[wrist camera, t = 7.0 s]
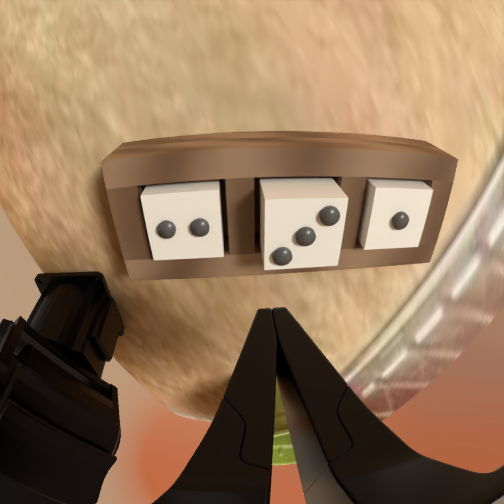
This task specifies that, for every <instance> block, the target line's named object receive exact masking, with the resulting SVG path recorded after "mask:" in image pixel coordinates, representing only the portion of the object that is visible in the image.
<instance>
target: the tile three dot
mask: <svg viewBox="0 0 504 504" xmlns="http://www.w3.org/2000/svg"><path fill="white" fill-rule="evenodd" d="M259 182H260V247H261V253H262V259H263V265H264V270H276V269H293V268H309V267H325V266H338V261H339V256H340V250H341V244H342V238H343V232H344V225H345V219H346V212H347V205H348V197H347V196H346V194H345V193H344V192H343V191H342V189H341V188H340V187H339V186H338V184H337V183H336V182H335V181H334V180H333V178H267V179H259Z"/></svg>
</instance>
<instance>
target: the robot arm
mask: <svg viewBox="0 0 504 504" xmlns="http://www.w3.org/2000/svg"><path fill="white" fill-rule="evenodd" d="M96 278H98V279H99V280H97V279H96ZM35 282H36V285H37V287H38V288H39V291H40V293H41V296H40V298H39V300H38V302H37V303H36V305H35V307H34V309H33V311H32V312H31V314H30V316H29V318H28V320H27V322H26V320H24V319H23V318H22V317H21V316H20V317H19V318H18V319H17V320H16V321H15V322H13V321H9V320H6V319H3V320H2V321H1V323H0V504H96V503H97V501H98V498H99V494H100V490H101V487H102V484H103V481H104V478H105V476H106V475H107V473H108V471H109V469H110V468H111V467H112V465H113V464H114V463H115V462H116V460H117V457H116V456H114V455H115V454H116V452H117V449H118V447H119V443H120V438H121V429H120V420H119V405H118V390H117V388H116V387H115V386H113V385H112V384H108V383H107V382H105V381H104V380H102V379H101V377H102V373H103V369H104V365H105V362H106V361H107V362H109V361H110V360H111V359H112V356H113V352H114V349H115V345H116V342H117V338H118V336H122V335H123V334H124V327H123V324H122V319H121V316H120V314H119V311H118V309H117V306H116V304H115V301H114V299H113V298H112V297H111V294H110V292H109V289H108V287H107V284H106V281H105V278H104V276H103V275H102V274H101V273H99V272H75V273H45V274H38V275H37V276H36V278H35ZM276 377H277V382H278V387H279V391H280V395H281V400H282V404H283V408H284V412H285V417H286V421H287V425H288V429H289V433H290V438H291V442H292V446H293V450H294V455H295V459H296V463H297V467H298V471H299V475H300V479H301V484H302V488H303V492H304V496H305V500H306V504H504V465H503V466H501V467H500V468H498V469H496V470H495V471H493V472H490V473H477V472H472V471H468V470H465V469H462V468H458V467H455V466H452V465H449V464H446V463H442V462H440V461H437V460H434V459H431V458H428V457H425V456H423V455H421V454H419V453H417V452H416V451H414V450H413V449H411V448H410V447H409V446H408V445H406V444H405V443H404V442H403V441H402V440H401V439H400V438H399V437H398V436H397V435H396V434H395V433H393V432H392V431H391V430H390V429H389V428H388V427H387V426H386V425H385V424H384V423H383V422H382V421H381V420H380V419H379V418H378V417H377V416H376V415H375V414H374V413H373V412H372V411H371V410H370V409H369V408H368V407H367V406H366V405H365V404H364V403H363V402H362V401H361V400H360V398H359V397H358V396H357V395H356V394H355V392H354V391H353V390H352V389H351V387H350V386H347V385H348V384H347V383H346V381H345V380H344V379H343V378H342V377H341V375H340V374H339V373H338V372H337V370H336V369H335V368H334V367H333V365H332V364H331V363H330V362H329V360H328V359H327V358H326V357H325V355H324V354H323V353H322V352H321V350H320V349H319V348H318V347H317V346H316V344H315V343H314V342H313V341H312V339H311V338H310V337H309V336H308V334H307V333H306V332H305V331H304V329H303V328H302V327H301V326H300V324H299V323H298V322H297V321H296V319H295V318H294V317H293V316H292V314H291V313H290V312H289V311H288V309H287V308H285V307H278V308H273V309H270V308H264V309H258V310H257V312H256V315H255V318H254V320H253V323H252V325H251V328H250V331H249V333H248V336H247V338H246V341H245V343H244V346H243V348H242V351H241V354H240V356H239V359H238V361H237V364H236V366H235V369H234V371H233V374H232V376H231V379H230V381H229V384H228V386H227V389H226V391H225V394H224V396H223V399H222V401H221V403H220V405H219V408H218V410H217V412H216V415H215V417H214V419H213V421H212V423H211V425H210V427H209V429H208V431H207V433H206V434H205V436H204V438H203V440H202V441H201V443H200V445H199V446H198V448H197V449H196V451H195V453H194V454H193V456H192V458H191V459H190V461H189V462H188V464H187V465H186V467H185V469H184V470H183V472H182V473H181V475H180V476H179V477H178V479H177V480H176V481H175V483H174V484H173V485H172V486H171V487H170V488H169V489H168V490H167V491H166V492H165V493H164V494H163V495H162V496H160V497H159V498H158V499H157V500H156V501H154V502H153V503H152V504H270V491H271V475H272V458H273V440H274V420H275V397H276Z"/></svg>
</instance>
